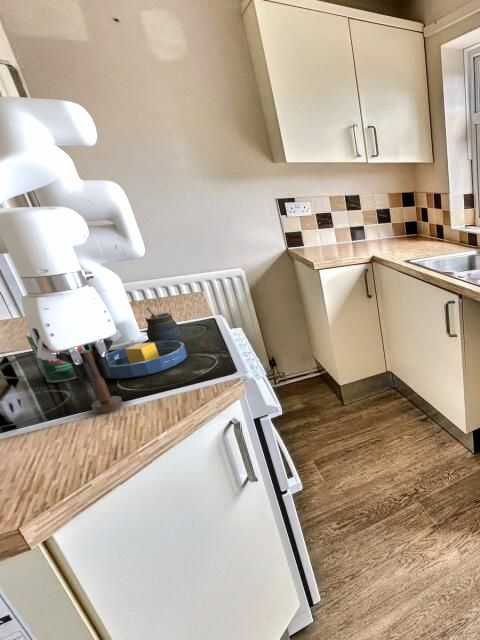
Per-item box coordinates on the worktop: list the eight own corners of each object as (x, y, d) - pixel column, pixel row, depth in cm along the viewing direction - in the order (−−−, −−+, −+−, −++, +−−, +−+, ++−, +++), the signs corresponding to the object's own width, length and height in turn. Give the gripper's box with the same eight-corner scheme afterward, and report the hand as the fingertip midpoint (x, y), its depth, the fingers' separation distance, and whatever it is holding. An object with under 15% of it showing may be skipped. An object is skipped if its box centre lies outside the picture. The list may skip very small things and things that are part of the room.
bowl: (85, 375, 97) (79, 361, 96) (161, 350, 111) (156, 337, 110) (129, 385, 92) (124, 370, 91) (203, 357, 106) (199, 344, 105)
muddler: (88, 411, 81) (63, 354, 77) (115, 401, 85) (92, 345, 81) (102, 415, 80) (77, 357, 75) (129, 404, 83) (106, 348, 79)
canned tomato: (64, 383, 93) (43, 337, 89) (36, 381, 95) (14, 335, 91) (102, 368, 101) (84, 325, 97) (76, 367, 102) (57, 324, 98)
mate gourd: (166, 348, 112) (153, 313, 108) (142, 347, 113) (129, 312, 110) (190, 339, 119) (179, 305, 115) (167, 338, 120) (156, 304, 116)
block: (130, 364, 101) (124, 349, 100) (144, 357, 105) (138, 343, 103) (146, 364, 101) (140, 348, 100) (159, 357, 105) (154, 342, 103)
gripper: (97, 273, 81) (131, 360, 88) (-21, 293, 68) (29, 394, 74) (121, 275, 79) (154, 364, 86) (4, 296, 65) (53, 401, 72)
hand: (96, 377), depth 80 cm, fingers closed on muddler
